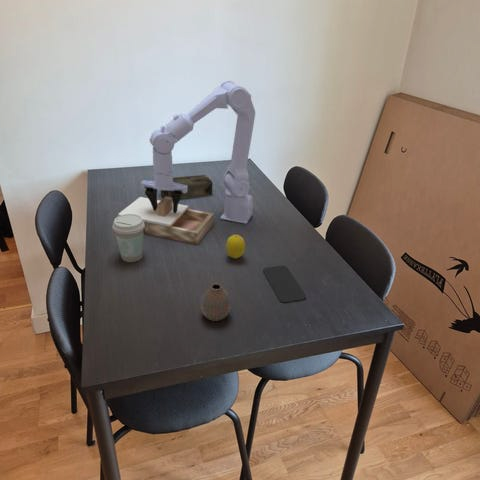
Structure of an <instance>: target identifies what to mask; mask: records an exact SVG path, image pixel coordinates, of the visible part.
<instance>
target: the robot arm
mask: <svg viewBox="0 0 480 480" xmlns="http://www.w3.org/2000/svg"><path fill="white" fill-rule="evenodd" d="M229 107H230V108H231V109H232V110H233V112H234V113H235V114H236V116H237V118H236V123H235V124H236V125H235V131H234V138H233V145H232V152H231V158H230V164H228V165H227V168H226V171H225V173H224V175H223V177H222V182H223V184H224V186H225V191H224V212H223V213H222V215H221V216H220V219H221V220H225V221H231V222H233V223H234V222H235V223H239V224H246V225H247V224H248V222H249V221H250V219H251V217H252V215H253V204H254V197H253V195H252V194H248V193H249V191H250V188H251V187H250V183H249V179H250V175H249V172H248V168H247V166H248V161H249V154H250V149H251V142H252V137H253V130H254V124H255V119H256V109H255V107H254V103H253V100H252V94H251V93H250V92H249V91H248V90H247V89H246V88H245V87H243V86H241V85H239V84H236V83H235V82H234V81H232V80H226V81H223V82H222V83H221V85H218V86H217V87H215V88H214V89H213V90H212V91H211V92H210V93H209V94H208V95H207V96H206V97H204V98H203V99H202V100H201V101H200V102H199V103H198V104H196V105H195V106H194V107H193V108H192V109H191V110H190V111H189V112H187V113H179V114H174V115H172V117H173V119H172V120H170V121H169V122H168V123H166V124H165V125H162V126H160V128H159V129H155V130H154V131H153V132H152V133H151V136H150V138H149V143H150V144H151V146H152V166H153V177H154V180H145V179H144V180H142V181H141V182H140V189H145V191H144V194H145V196H146V198H148V199H149V200H150V202H151V205H152V207H153V210H154V211H156V209H157V200H158V191H160V190H168V191H174V192H173V194H172V200H173V213H176V212H177V208H178V204H180V200H181V199H180V197H181V195H182V193H187V191H188V188H187V185H183V184H179V183H175V182H173V178H174V171H173V168H174V167H173V155H172V151H173V150H174V147H175V144H176V143H178V142H179V141H181V140H182V139H183V138H184V137H186V136H187V135H188V134H189V133H191V132H192V131H193V130H194V125H195V123H197V122H198V121H200V120H201V119H202V118H204V117H206V116H207V115H209V114H210V113H212V112H213V111H214V110H217V109H224V110H226V109H227V110H228V109H229Z"/></svg>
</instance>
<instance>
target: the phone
mask: <svg viewBox="0 0 480 480" xmlns="http://www.w3.org/2000/svg"><path fill="white" fill-rule="evenodd" d="M262 272H263V274H264V276H265V278H266V280H267V281H268V283H269V285H270V286H271V288H272V291H273V292H274V293H275V296H276V298H277V299H278V300H279V302H280V303H282V304H288V303H294V302H301V301H306V299H307V296H306V294H305V292H304V291H303V289H302V287H301V286H300V285H299V283H298V282H297V280H296V278H295V277H294V275H293V274H292V273H291V271H290V269H289V268H288V267H287V266H286V265H277V266H271V267H270V266H269V267H264V268H263V269H262Z"/></svg>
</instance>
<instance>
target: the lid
mask: <svg viewBox="0 0 480 480" xmlns="http://www.w3.org/2000/svg"><path fill="white" fill-rule="evenodd" d="M162 198H163V197H162ZM187 209H189V205H186V204H185V205H184V204H180V203H178V208H177V212H176V213H173V200H172V198H171V197H165V198H163V199H161V200H158V199H157V209H156V211H154V210H153V207H152V205H151V202H150V200H149V199H148V197H143V196H139V197H138V198H137V199H135V200H134V201H133V202H132V203H131V204H129V205H128V206H126V207H125V208H124V209H122V210H121V211H120V212H119V213H117V217H118V216H120V215H124V214H136V215H139V216H140V217H141V218H142V220H143V221H144V222H148V223H153V224H158V225H163V226H168V227H171V226H172V225H173V224H174V223H175V221H176V220H177V219H178V218H179V217H180V216H181V215H182V214H183V213H184V212H185V211H186V210H187Z"/></svg>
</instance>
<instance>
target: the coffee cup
mask: <svg viewBox="0 0 480 480" xmlns="http://www.w3.org/2000/svg"><path fill="white" fill-rule="evenodd" d="M144 227H145V224H144V221H143V220H142V218H141V217H140V216H139V215H136V214H124V215H120V216H118V215H117V217H115V218H114V220H113V224H112V230H113V232H114V234H115V237H116V242H117V245H118V250H119V253H120V257H121V260H123V261H124V262H126V263H134V262H135V263H136V262H138V261H139V260H141V259H142V258H143V253H144V252H143V251H144V250H143V249H144V247H143V246H144V230H145V229H144Z"/></svg>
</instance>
